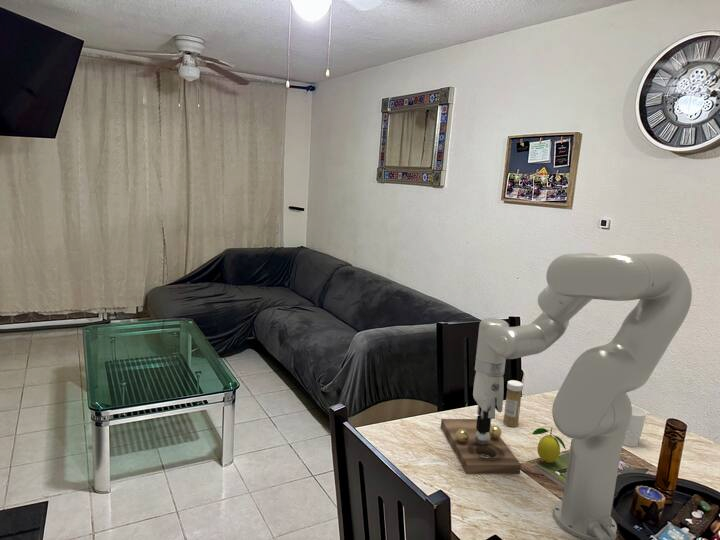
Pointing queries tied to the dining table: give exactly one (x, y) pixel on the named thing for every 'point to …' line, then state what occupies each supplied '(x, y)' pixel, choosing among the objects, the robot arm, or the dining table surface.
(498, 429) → the brass ball
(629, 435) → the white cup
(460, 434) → the brass ball
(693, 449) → the dining table surface
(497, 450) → the plate
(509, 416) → the sprinkles bottle
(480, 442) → the steel ball
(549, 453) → the lemon
